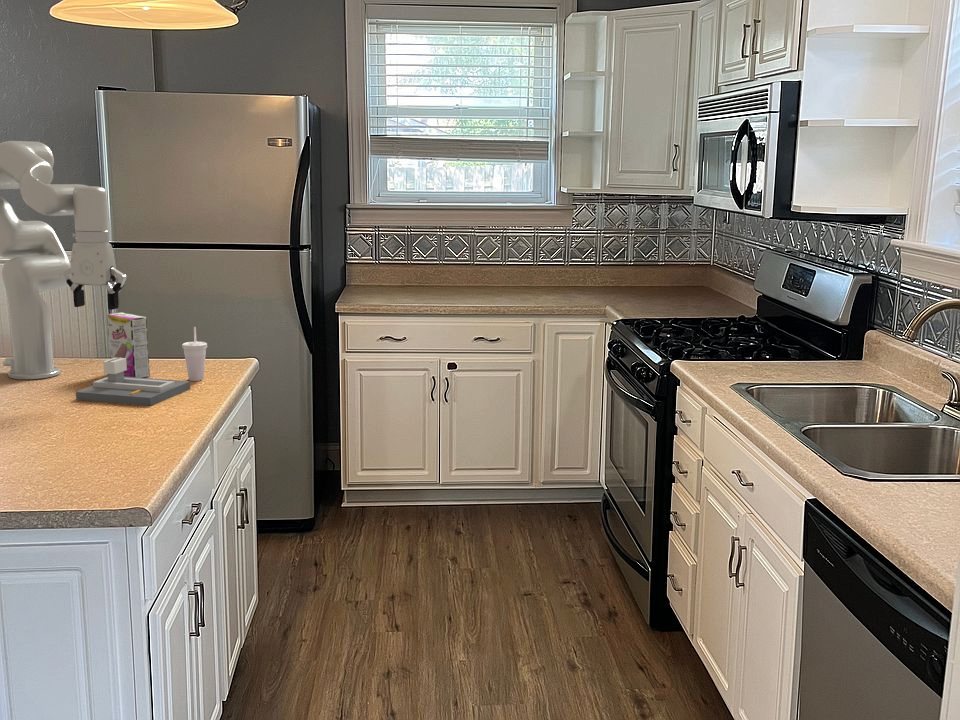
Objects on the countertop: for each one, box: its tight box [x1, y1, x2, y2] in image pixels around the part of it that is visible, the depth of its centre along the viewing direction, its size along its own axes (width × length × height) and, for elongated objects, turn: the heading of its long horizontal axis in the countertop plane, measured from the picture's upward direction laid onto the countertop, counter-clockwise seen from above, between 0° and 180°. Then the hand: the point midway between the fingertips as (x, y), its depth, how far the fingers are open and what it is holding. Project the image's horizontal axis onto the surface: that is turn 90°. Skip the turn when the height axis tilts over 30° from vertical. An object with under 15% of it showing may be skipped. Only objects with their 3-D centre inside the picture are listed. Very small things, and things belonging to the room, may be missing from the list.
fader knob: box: [103, 357, 127, 383], centre depth 236 cm, size 3×5×6 cm, turn 167°
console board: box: [75, 376, 191, 407], centre depth 236 cm, size 20×18×3 cm
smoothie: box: [181, 326, 208, 382], centre depth 252 cm, size 6×6×14 cm
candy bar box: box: [106, 312, 151, 378], centre depth 255 cm, size 11×5×16 cm, turn 54°
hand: (96, 307), depth 235 cm, fingers open, 9 cm apart
